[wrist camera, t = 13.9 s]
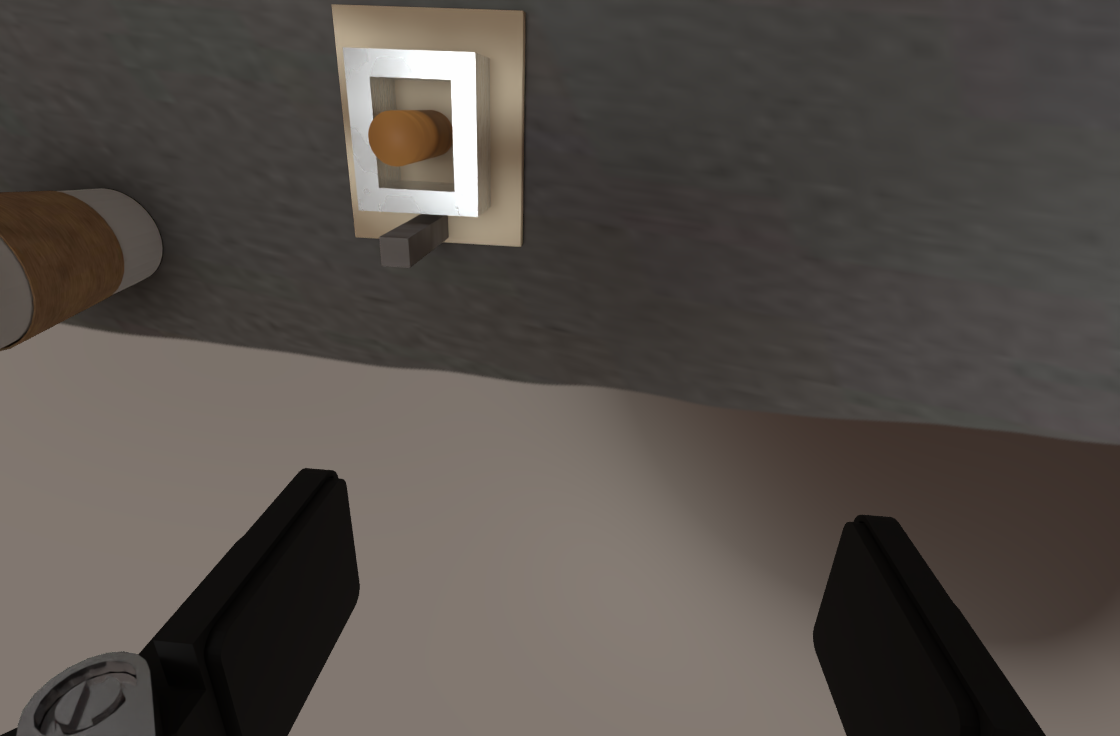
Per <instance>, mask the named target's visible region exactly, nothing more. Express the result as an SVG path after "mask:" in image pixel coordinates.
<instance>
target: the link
mask: <svg viewBox="0 0 1120 736" xmlns="http://www.w3.org/2000/svg"><path fill="white" fill-rule="evenodd" d="M343 57H344V67H345V77H346V87H347V97H348V107H349V117H350V127H351V138H352V148H353V158H354V168H355V178H356V188H357V198H358V208H359V210H361V211H379V212H397V213H414V214H432V215H450V216H468V217H479V216H480V215H481V214H482V213H484V212H485V211H486V210H487V209H489V208H490V207H491V154H490V58H488V57H486V56H483V55H481V54H478V53H475V52H452V51H426V50H400V49H373V48H347V47H343ZM394 80H416V81H440V82H451V96H452V127H453V157H454V183H441V182H422V181H402V180H401V170H400V167H395V166H390V165H387V164H385V163H383V162H382V161H380V160H379V159H378V158H377V157H376V156H375V154H374V153H373V151H372V149H371V147H370V144H369V139H368V131H369V127H370V124H371V122H372V120H373V119H374V118H375V117H376V116H377V115H378V114H380V113H381V112H384V111H389V110H396V96H395V82H394Z"/></svg>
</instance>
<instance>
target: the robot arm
mask: <svg viewBox="0 0 1120 736" xmlns="http://www.w3.org/2000/svg"><path fill="white" fill-rule="evenodd" d="M359 590H360V584H359V576H358V569H357V562H356V553H355V546H354V538H353V531H352V524H351V516H350V508H349V501H348V493H347V486H346V482H345V481H344V480H343V479H338V475H337V474H336V472H335V471H333V470H321V469H309V468H305V469H302V470H301V471H300V472H299V473H298V474H297V475H296V476H295V477H294V478H293V480H292V481H291V482H290V483H289V484H288V485H287V486H286V488H285V489H284V490H283V491H282V492H281V493H280V494H279V496H278V497H277V498H276V499H275V500H274V502H273V503H272V504H271V505H270V506H269V507H268V508H267V510H266V511H265V512H264V513H263V514H262V515H261V516H260V518H259V519H258V520H257V521H256V522H255V523H254V524H253V526H252V527H251V528H250V529H249V530H248V532H247V533H246V534H245V535H244V536H243V537H242V538H241V539H239V540H238V541H237V542H236V543H235V544H234V546H233V547H232V548H231V549H230V550H229V551H228V552H227V553H226V555H225V556H224V557H223V558H222V559H221V560H220V562H219V563H218V564H217V565H216V566H215V567H214V568H213V570H212V571H211V572H210V573H209V574H208V575H207V576H206V578H205V579H204V580H203V581H202V582H201V583H200V584H199V586H198V587H197V588H196V589H195V590H194V591H193V592H192V594H191V595H190V596H189V597H188V598H187V599H186V601H185V602H184V603H183V604H182V605H181V606H180V607H179V609H178V610H177V611H176V612H175V613H174V615H173V616H172V617H171V618H170V619H169V620H168V621H167V622H166V623H165V625H164V626H163V627H162V628H161V629H160V630H159V632H158V633H157V634H156V635H155V636H154V637H153V638H152V640H151V641H150V642H149V643H148V644H147V645H146V646H145V648H144V649H143V650H142V651H141V652H140V653H139V654H134V653H129V652H112V653H105V654H101V655H98V656H95V657H91V658H88V659H86V660H84V661H81V662H79V663H77V664H75V665H73V666H71V667H69V668H67V669H66V670H64V671H63V672H61V673H60V674H58V675H57V676H55V677H54V678H52V679H51V680H49V681H48V682H47V683H46V684H45V685H44V686H43V687H42V688H41V689H39V690H38V691H37V692H36V693H35V694H34V695H33V697H32V698H31V699H30V701H29V702H28V704H27V705H26V706H25V708H24V709H23V711H22V714H21V717H20V720H19V723H18V727H17V728H15V729H13V730H11V731H9V732H7V733H5V734H2V735H0V736H288V734H289V732H290V730H291V728H292V726H293V724H294V722H295V720H296V719H297V717H298V715H299V713H300V711H301V709H302V707H303V705H304V703H305V701H306V699H307V697H308V695H309V694H310V691H311V690H312V687H313V686H314V684H315V682H316V680H317V678H318V676H319V674H320V672H321V671H322V669H323V667H324V665H325V663H326V661H327V659H328V657H329V655H330V653H331V651H332V649H333V648H334V645H335V643H336V642H337V640H338V638H339V636H340V634H341V632H342V630H343V628H344V626H345V624H346V623H347V621H348V619H349V617H350V615H351V613H352V611H353V609H354V607H355V605H356V603H357V600H358V596H359ZM813 642H814V648H815V651H816V654H817V656H818V659H819V662H820V665H821V667H822V670H823V673H824V676H825V678H826V681H827V684H828V686H829V689H830V692H831V695H832V697H833V700H834V703H835V705H836V708H837V711H838V714H839V716H840V719H841V722H842V724H843V727H844V730H845V732H846V735H847V736H1046V735H1045V734H1044V733H1043V731H1042V730H1041V728H1040V726H1039V725H1038V723H1037V722H1036V721H1035V719H1034V718H1033V716H1032V715H1031V713H1030V712H1029V710H1028V709H1027V707H1026V706H1025V705H1024V703H1023V702H1022V700H1021V699H1020V697H1019V696H1018V694H1017V693H1016V692H1015V690H1014V689H1013V687H1012V686H1011V684H1010V683H1009V681H1008V680H1007V678H1006V677H1005V675H1004V674H1003V672H1002V671H1001V670H1000V668H999V667H998V665H997V664H996V662H995V661H994V659H993V658H992V657H991V655H990V654H989V652H988V651H987V649H986V648H985V646H984V645H983V644H982V642H981V640H980V639H979V638H978V636H977V635H976V633H975V632H974V630H973V629H972V627H971V626H970V624H969V623H968V621H967V620H966V619H965V617H964V616H963V614H962V613H961V611H960V610H959V609H958V608H957V606H956V605H955V604H954V603H953V601H952V600H951V599H950V597H949V596H948V594H947V593H946V591H945V590H944V588H943V587H942V585H941V584H940V582H939V581H938V580H937V578H936V577H935V575H934V574H933V572H932V571H931V569H930V568H929V567H928V565H927V564H926V562H925V561H924V559H923V558H922V556H921V555H920V553H919V552H918V550H917V549H916V547H915V546H914V544H913V543H912V542H911V540H910V539H909V537H908V536H907V534H906V533H905V532H904V530H903V528H902V527H901V525H900V524H899V523H898V522H897V520H896V519H894V518H892V517H883V516H871V515H858V516H857V517H856V518H855V520H854V522H847V523H846V524H845V526H844V528H843V531H842V535H841V538H840V541H839V545H838V548H837V552H836V555H835V558H834V562H833V565H832V569H831V572H830V575H829V579H828V582H827V585H826V589H825V592H824V595H823V599H822V602H821V606H820V609H819V612H818V616H817V619H816V622H815V626H814V631H813Z"/></svg>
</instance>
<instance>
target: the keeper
mask: <svg viewBox="0 0 1120 736" xmlns="http://www.w3.org/2000/svg"><path fill="white" fill-rule="evenodd" d="M332 13H333V23H334V32H335V42H336V52H337V61H338V71H339V81H340V90H341V100H342V110H343V119H344V129H345V139H346V148H347V158H348V168H349V177H350V187H351V197H352V206H353V216H354V226H355V236H356V237H362V238H379V241H380V253H381V264H382V266H390V267H407V268H410V267H412V266H413V265H414V264H415V263H417V262H418V261H419V260H421V259H422V258H423V257H424V256H426V255H427V254H428V253H430V252H431V251H432V250H433V249H435V248H436V247H437V246H439V245H440V244H441V243H442V242H448V243H465V244H482V245H499V246H517V247H521V245H522V244H523V169H524V92H525V14H526V13H525V12H524V11H515V10H484V9H454V8H424V7H393V6H363V5H332ZM343 47H347V48H373V49H400V50H426V51H452V52H475V53H478V54H481V55H483V56H486V57H488V58H490V154H491V207H490V208H489V209H487V210H486V211H485V212H484V213H482V214H481V215H480V216H479V217H468V216H450V215H432V214H414V213H397V212H379V211H361V210H359V208H358V198H357V188H356V178H355V168H354V158H353V148H352V138H351V127H350V117H349V107H348V97H347V87H346V77H345V67H344V57H343ZM394 82H395V96H396V110H389V111H384V112H381V113H380V114H378V115H377V116H376V117H375V118H374V119H373V120H372V122H371V124H370V127H369V131H368V139H369V144H370V147H371V149H372V151H373V153H374V154H375V156H376V157H377V158H378V159H379V160H380V161H382V162H383V163H385V164H387V165H390V166H395V167H400V170H401V180H402V181H422V182H441V183H454V157H453V127H452V96H451V82H440V81H416V80H394Z"/></svg>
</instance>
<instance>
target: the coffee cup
mask: <svg viewBox="0 0 1120 736" xmlns="http://www.w3.org/2000/svg"><path fill="white" fill-rule="evenodd" d="M162 250H163V247H162V240H161V236H160V233H159V230H158V228H157V226H156V224H155V222H154V220H153V219H152V218H151V216H150V215H149V214H148V212H147V211H146V210H145V209H144V208H143V207H142V206H141V205H140V204H139V203H137V202H136V201H135V200H133V199H132V198H130V197H129V196H127V195H125V194H123V193H121V192H118V191H115V190H111V189H104V188H100V189H82V190H67V191H29V192H1V193H0V351H2V350H7V349H10V348H12V347H14V346H16V345H18V344H20V343H22V342H24V341H26V340H28V339H30V338H31V337H34V336H35V335H37V334H39V333H41V332H43V331H45V330H47V329H49V328H51V327H53V326H55V325H56V324H58V323H60V322H62V321H64V320H66V319H68V318H70V317H72V316H74V315H76V314H78V313H80V312H81V311H83V310H85V309H87V308H89V307H91V306H93V305H95V304H97V303H99V302H101V301H103V300H104V299H106V298H108V297H110V296H112V295H113V294H115V293H117V292H119V291H121V290H124V289H126V288H128V287H130V286H132V285H134V284H136V283H138V282H140V281H142V280H144V279H146V278H147V277H149V276H151V275H152V274H153V273H154V272H155V271H156V270H157V268H158V266H159V264H160V262H161V258H162Z"/></svg>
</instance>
